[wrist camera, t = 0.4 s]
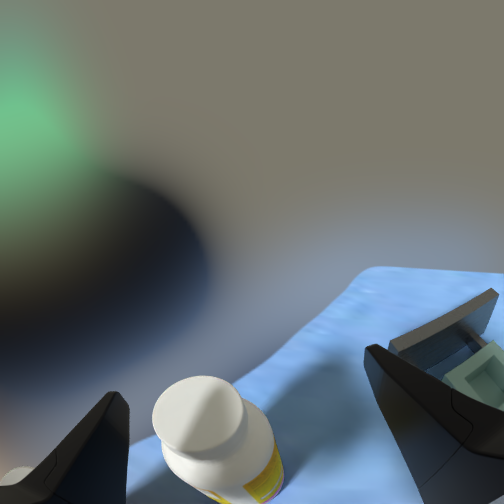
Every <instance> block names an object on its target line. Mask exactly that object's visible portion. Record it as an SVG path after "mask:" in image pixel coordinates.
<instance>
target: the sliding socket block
mask: <svg viewBox="0 0 504 504" xmlns="http://www.w3.org/2000/svg"><path fill="white" fill-rule="evenodd" d="M441 381H442V382H443V383H445V384H447V385H449V386H450V387H451V388H454V389H456V390H458V391H459V392H461V393H463V394H465V395H467V396H469V397H471V398H473V399H475V400H478V401H480V402H482V403H485V404H487V405H490V406H492V407H495V408H497V409H500V410H502V411H504V351H503V350H502V349H501V348H500V347H499V346H498V345H497V344H496V343H495V341H494V340H493V341H491V342H490V343H489V344H487V345H486V346H485V347H484V348H482V349H481V350H480V351H478V352H477V353H476V354H474V355H473V356H471V357H470V358H469V359H467V360H466V361H464V362H463V363H461V364H460V365H459V366H457V367H456V368H454V369H452V370H451V371H449V372H448V373H446V374H445V375H444V377H443V379H442V380H441Z"/></svg>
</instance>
